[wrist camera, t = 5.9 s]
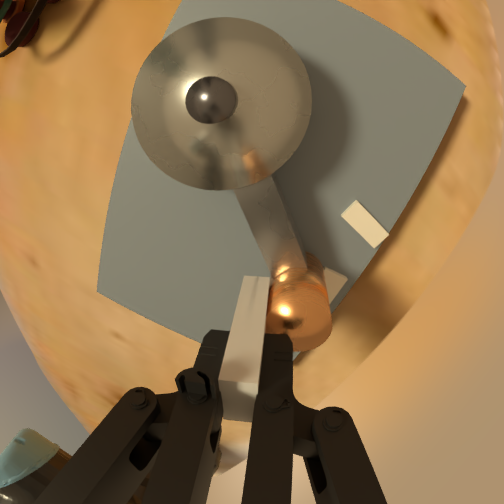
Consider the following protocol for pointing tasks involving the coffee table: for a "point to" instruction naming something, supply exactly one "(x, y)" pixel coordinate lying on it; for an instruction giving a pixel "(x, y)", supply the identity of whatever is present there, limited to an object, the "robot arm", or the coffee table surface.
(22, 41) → the binoculars
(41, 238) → the coffee table surface
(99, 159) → the coffee table surface
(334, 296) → the level board
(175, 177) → the cam lever
